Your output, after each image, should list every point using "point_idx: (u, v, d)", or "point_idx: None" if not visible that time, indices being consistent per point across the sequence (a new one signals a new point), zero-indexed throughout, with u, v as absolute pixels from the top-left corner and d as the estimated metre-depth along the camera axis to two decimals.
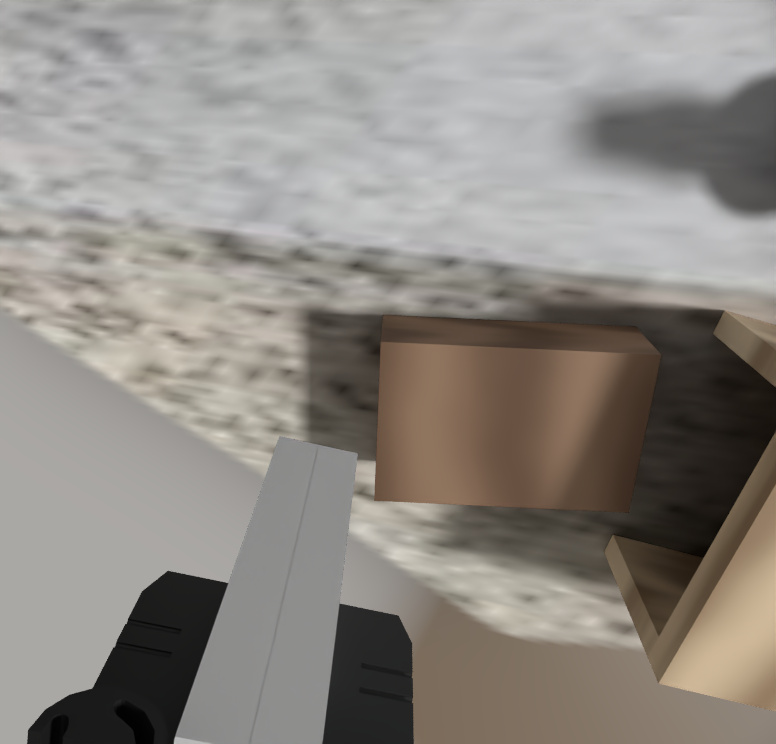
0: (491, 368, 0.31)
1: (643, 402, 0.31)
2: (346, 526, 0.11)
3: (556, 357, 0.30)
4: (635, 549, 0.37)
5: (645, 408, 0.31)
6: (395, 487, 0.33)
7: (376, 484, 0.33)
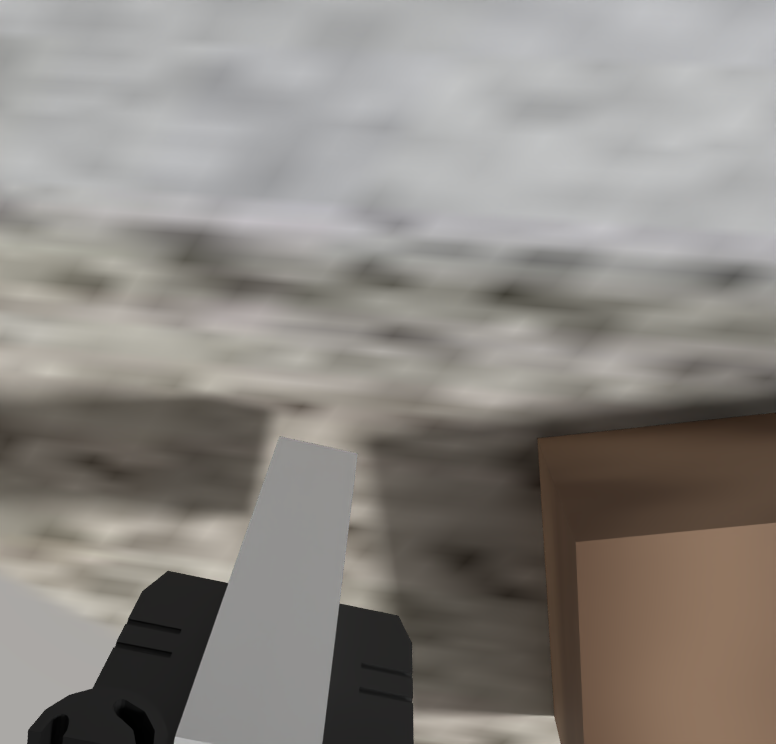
0: None
1: None
2: (346, 526, 0.11)
3: None
4: None
5: None
6: None
7: None
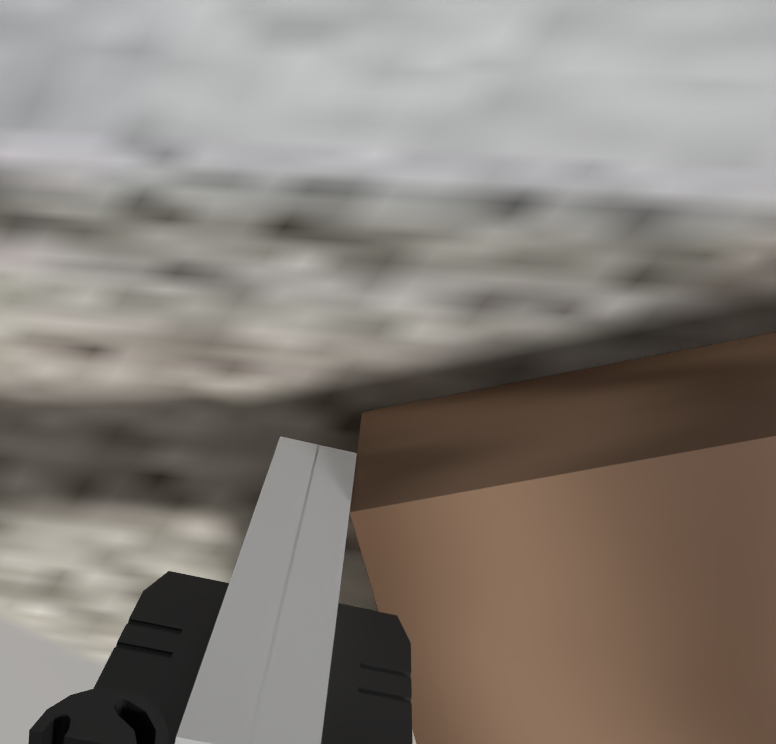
0: (657, 512, 0.11)
1: None
2: (345, 526, 0.11)
3: None
4: None
5: None
6: None
7: None
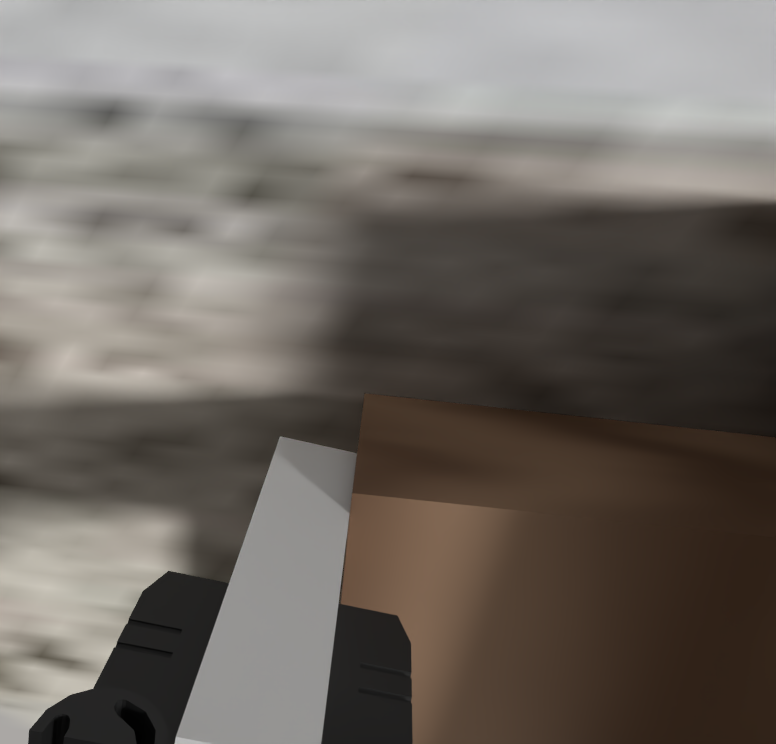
0: (638, 575, 0.12)
1: None
2: (345, 526, 0.11)
3: None
4: None
5: None
6: None
7: None
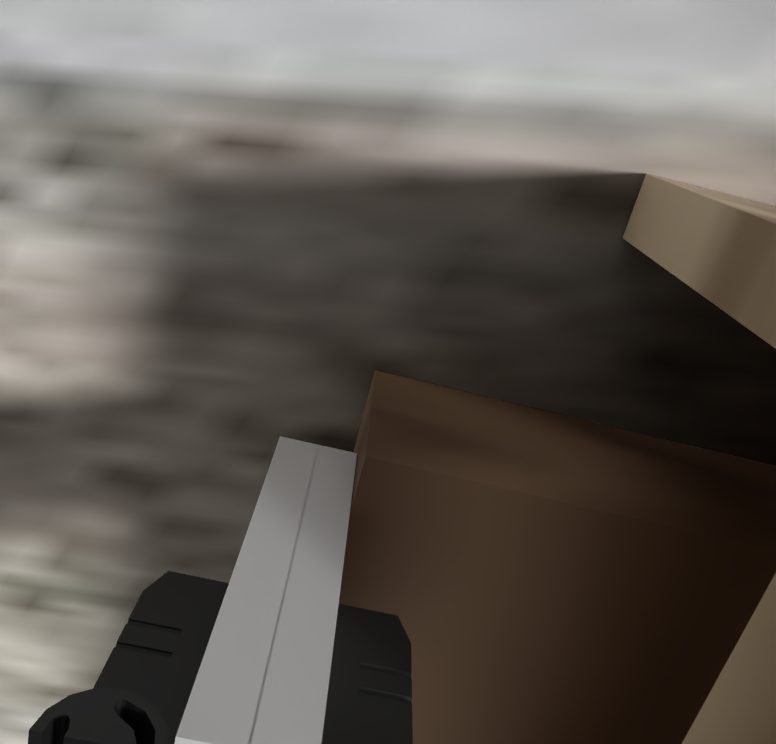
0: (632, 572, 0.12)
1: None
2: (345, 526, 0.11)
3: None
4: None
5: None
6: None
7: None
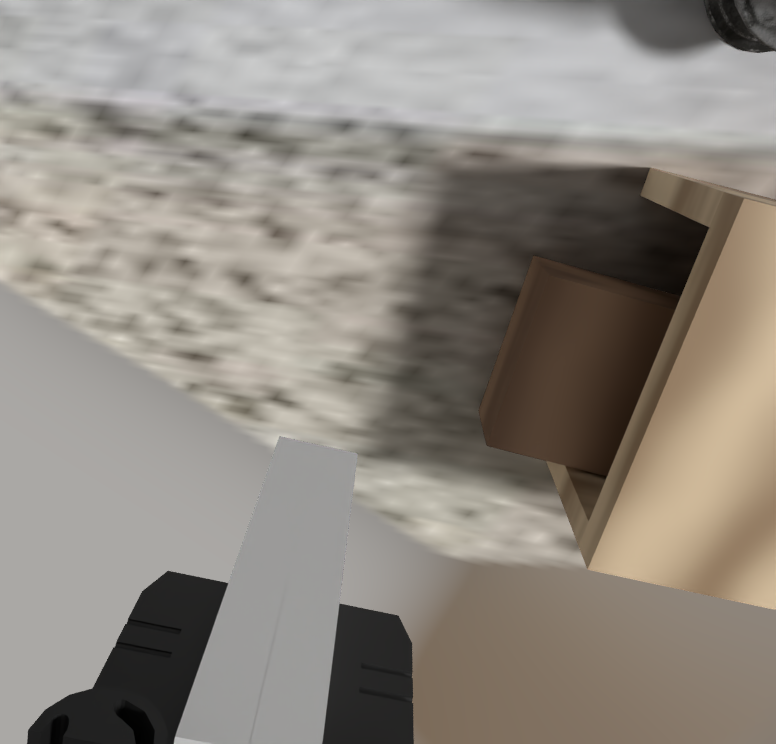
0: (651, 329, 0.29)
1: None
2: (346, 526, 0.11)
3: None
4: None
5: None
6: (513, 435, 0.31)
7: (494, 428, 0.31)
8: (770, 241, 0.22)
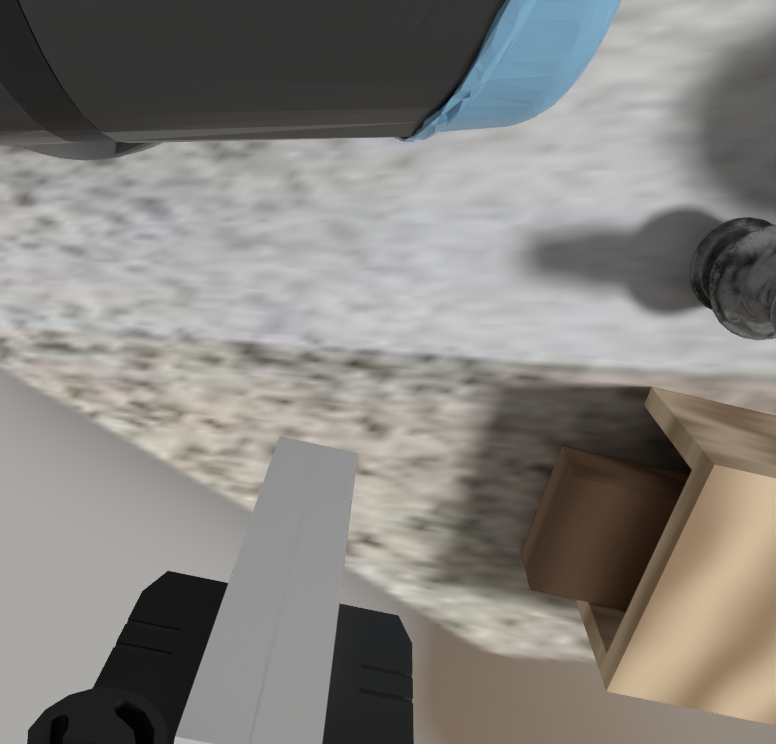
0: (650, 510, 0.40)
1: None
2: (346, 526, 0.11)
3: None
4: None
5: None
6: (549, 582, 0.42)
7: (536, 578, 0.42)
8: (732, 489, 0.33)
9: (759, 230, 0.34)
